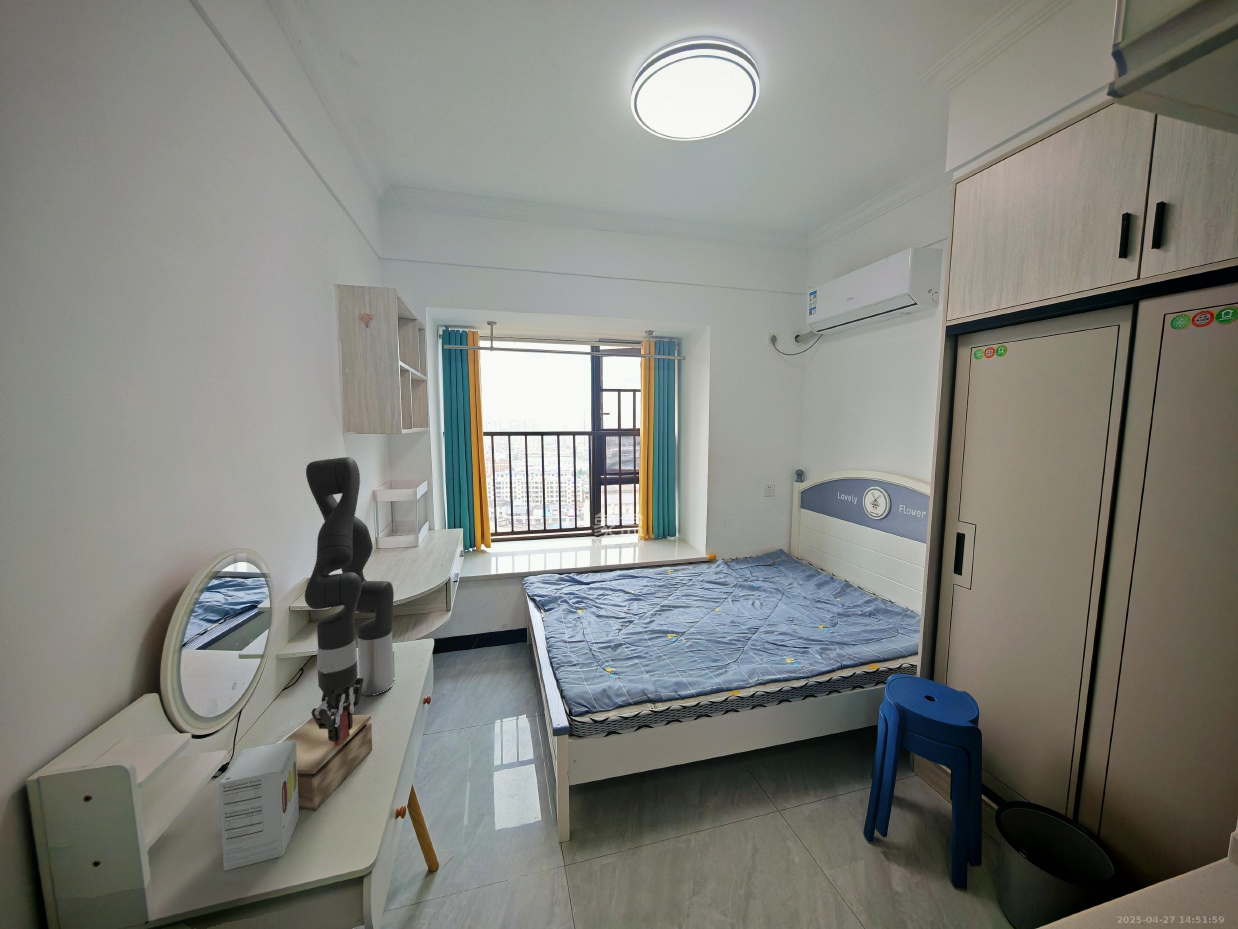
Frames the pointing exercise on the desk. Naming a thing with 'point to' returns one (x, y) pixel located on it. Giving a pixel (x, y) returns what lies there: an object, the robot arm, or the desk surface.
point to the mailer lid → (321, 742)
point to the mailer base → (334, 770)
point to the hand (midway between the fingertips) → (340, 734)
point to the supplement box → (259, 804)
